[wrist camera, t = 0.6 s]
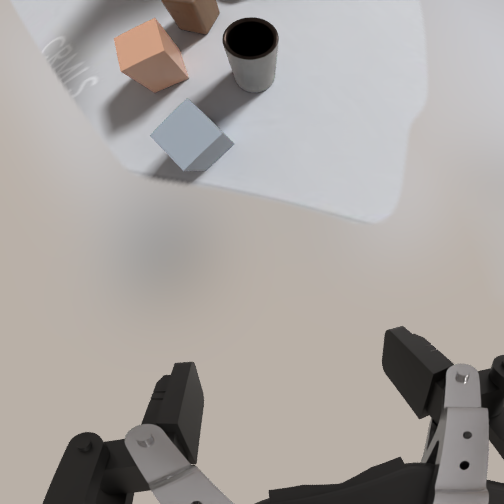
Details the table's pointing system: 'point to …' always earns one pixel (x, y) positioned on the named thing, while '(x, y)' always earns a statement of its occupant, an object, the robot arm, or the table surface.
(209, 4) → the wooden block
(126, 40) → the terracotta block
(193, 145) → the slate-blue block
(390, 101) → the table surface
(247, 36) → the planter
